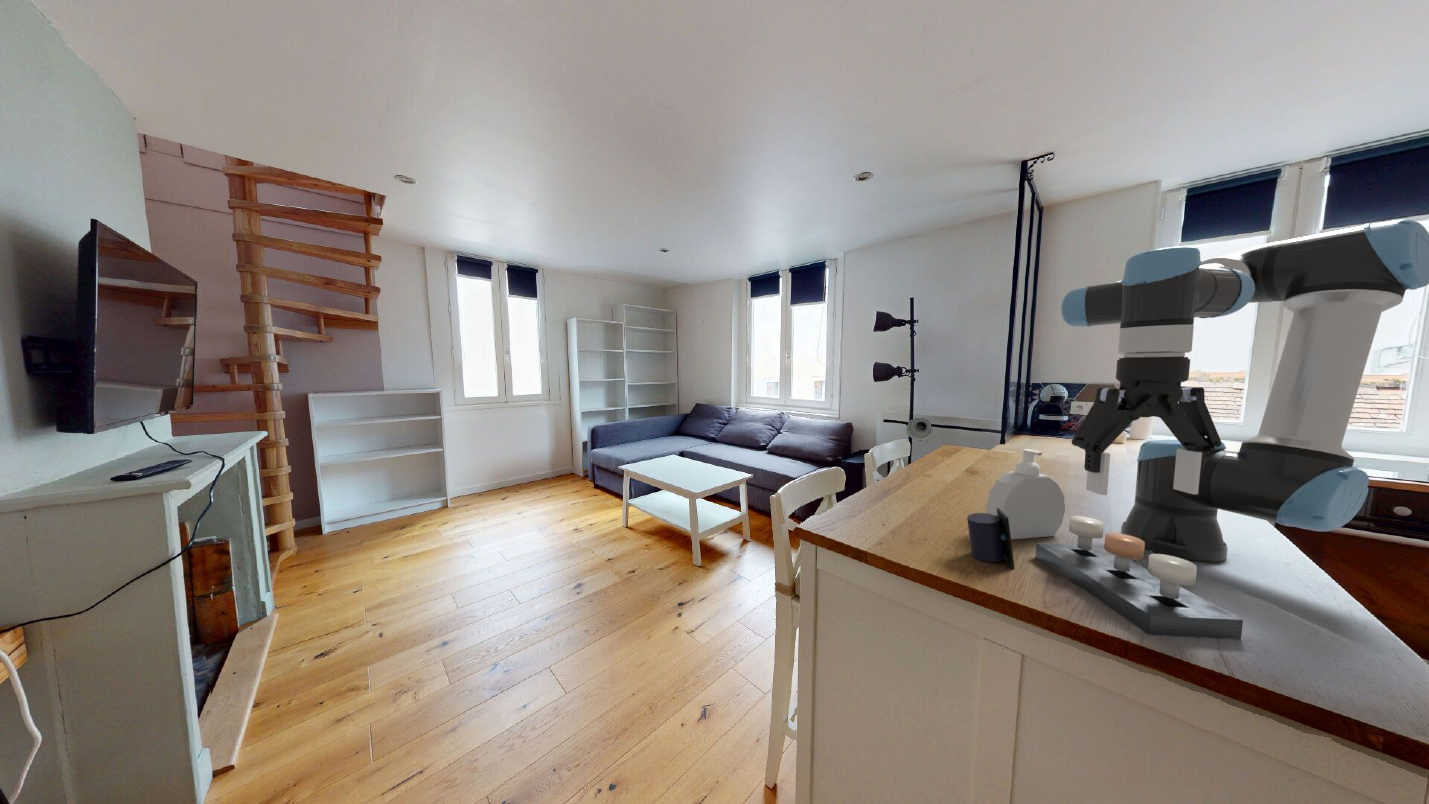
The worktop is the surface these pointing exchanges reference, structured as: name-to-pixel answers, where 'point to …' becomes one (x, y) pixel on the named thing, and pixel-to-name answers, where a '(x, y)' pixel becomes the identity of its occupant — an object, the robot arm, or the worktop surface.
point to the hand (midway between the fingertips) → (1140, 492)
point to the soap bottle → (1028, 500)
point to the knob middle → (1124, 549)
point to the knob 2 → (1171, 573)
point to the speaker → (990, 537)
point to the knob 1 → (1086, 530)
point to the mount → (1139, 594)
